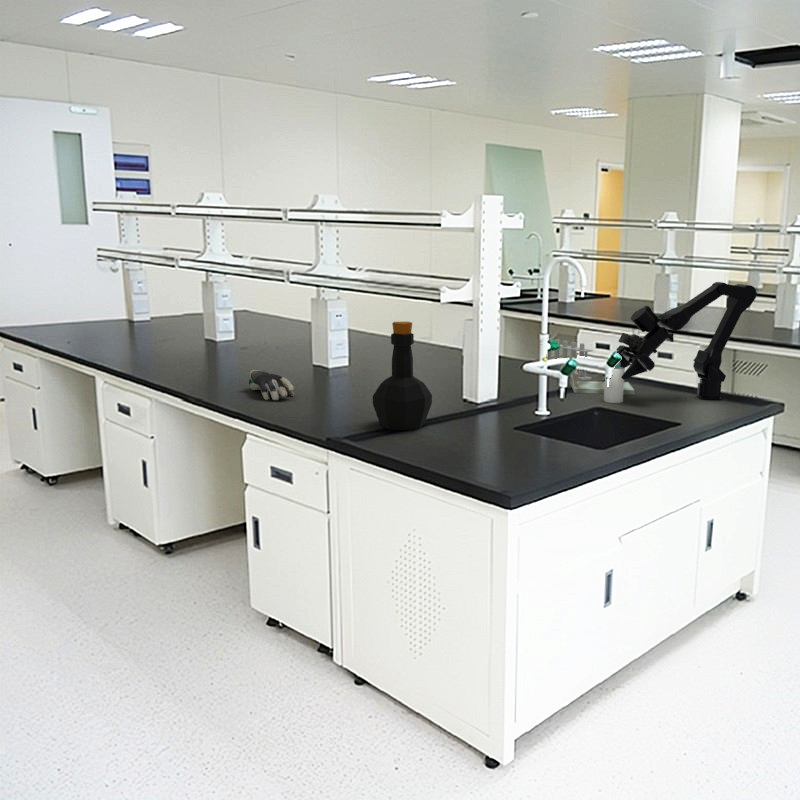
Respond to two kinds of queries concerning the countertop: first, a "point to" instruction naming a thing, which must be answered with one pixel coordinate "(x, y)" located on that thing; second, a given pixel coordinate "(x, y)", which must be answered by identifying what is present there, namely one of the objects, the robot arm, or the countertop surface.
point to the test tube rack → (572, 354)
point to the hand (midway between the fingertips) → (616, 375)
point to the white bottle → (615, 386)
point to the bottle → (402, 387)
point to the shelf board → (593, 386)
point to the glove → (270, 384)
